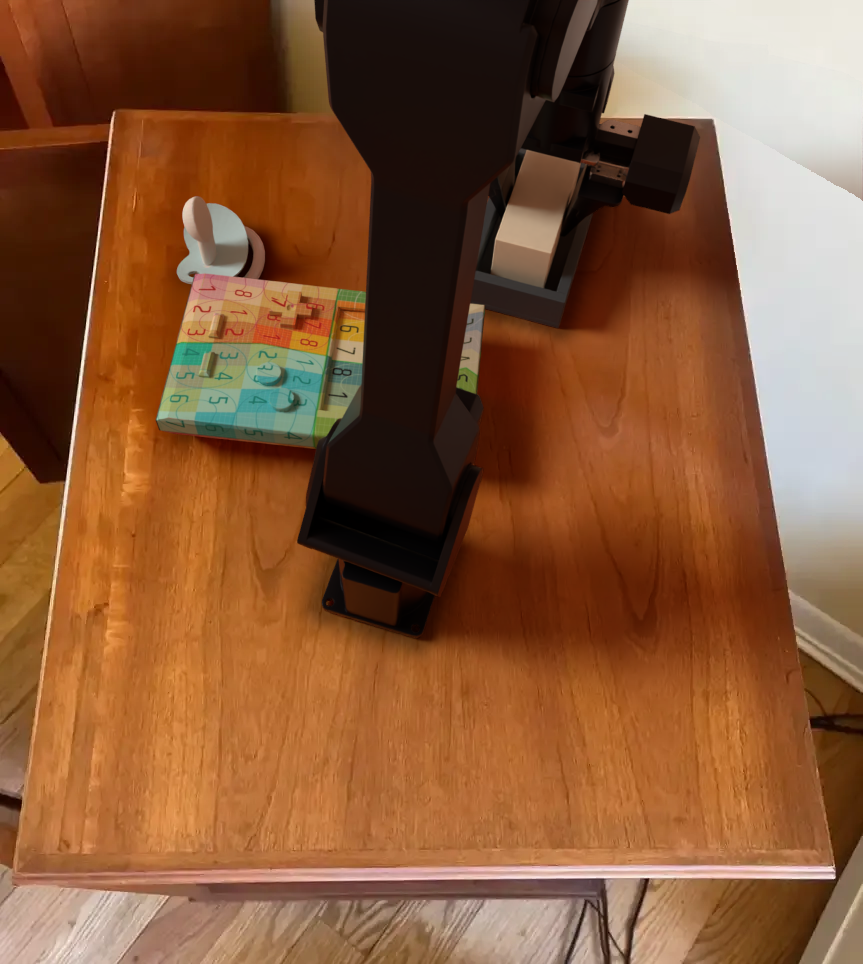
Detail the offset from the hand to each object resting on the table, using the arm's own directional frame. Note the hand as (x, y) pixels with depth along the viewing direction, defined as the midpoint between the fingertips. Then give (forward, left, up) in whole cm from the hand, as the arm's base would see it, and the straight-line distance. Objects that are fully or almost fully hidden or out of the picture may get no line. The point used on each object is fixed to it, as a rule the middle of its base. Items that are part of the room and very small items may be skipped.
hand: (535, 224), depth 74 cm
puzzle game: (-17, +10, -3) cm, 20 cm away
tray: (0, 0, -2) cm, 2 cm away
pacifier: (-9, +21, -3) cm, 23 cm away
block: (-5, 0, +1) cm, 5 cm away
